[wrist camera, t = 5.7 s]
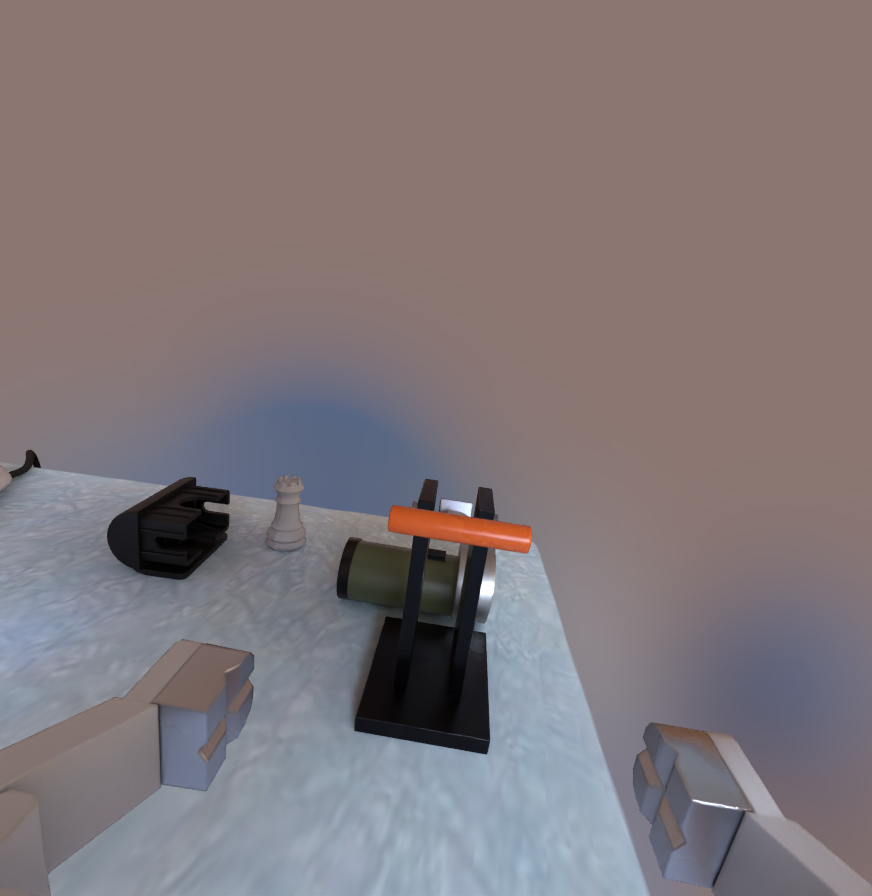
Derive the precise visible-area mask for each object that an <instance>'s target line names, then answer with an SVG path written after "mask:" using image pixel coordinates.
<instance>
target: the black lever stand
mask: <svg viewBox="0 0 872 896" xmlns="http://www.w3.org/2000/svg"><path fill="white" fill-rule="evenodd" d="M437 487H438V481H437V480H430V479H425V481H424V484H423V488H422V491H421V494H420V497H419V500H418V502H413V504H412V508H417V509H423V510H429V511H434V508H435V501H436V494H437ZM474 518H480V519H487V520H493V521H498V515H497V514H495V510H494V502H493V493H492V489H489V488H483V487H479V489H478V495H477V501H476V506H475V513H474ZM429 543H430V538H425V537H419V536H413V544H412V551H411V559H410V566H409V574H408V581H407V589H406V596H405V604H404V611H403V619H400V618H394V617H388V616H386V618H385V622H384V625H383V628H382V632H381V635H380V638H379V642H378V645H377V648H376V652H375V655H374V658H373V661H372V665H371V668H370V671H369V675H368V678H367V681H366V685H365V688H364V691H363V695H362V698H361V701H360V705H359V708H358V711H357V715H356V720H355V729H354V730H355V731H358V732H364V733H370V734H375V735H381V736H386V737H392V738H398V739H403V740H409V741H414V742H420V743H426V744H431V745H437V746H442V747H448V748H454V749H459V750H465V751H471V752H476V753H482V754H487V753H488V748H489V743H490V727H489V702H488V676H487V651H486V633H483V632H477V631H473V629H474V624H475V618H476V613H477V607H478V602H479V596H480V591H481V585H482V580H483V574H484V569H485V563H486V558H487V552H488V547H482V546H475V545H469V548H468V554H467V559H466V565H465V571H464V577H463V583H462V589H461V595H460V601H459V607H458V612H457V618H456V624H455V628H454V627H448V626H442V625H436V624H430V623H424V622H418V619H419V612H420V605H421V598H422V591H423V584H424V577H425V571H426V564H427V557H428V550H429Z"/></svg>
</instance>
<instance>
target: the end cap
mask: <svg viewBox="0 0 872 896" xmlns="http://www.w3.org/2000/svg"><path fill="white" fill-rule="evenodd" d="M205 502H213V503H220V504H227V505H228V504H229V503H230V493H229V490H223V489H216V488H208V487H201V486H196V478H195V477H188V478H183V479H180V480H178V481H177V482H175V483H173V484H172V485H170V486H168V487H166V488H164V489H163V490H161V491H159V492H157V493H156V494H154V495H152V496H151V497H149V498H147V499H145V500H144V501H142V502H140V503H138V504H137V505H135V506H133V507H131V508H130V509H128V510H126V511H124V512H123V513H121V514H119V515H118V516H116V517H115V518H114V519H113V520H112V522H111V523H110V525H109V528H108V531H107V540H108V544H109V547H110V549H111V551H112V553H113V554H114V556H115V557H116V558H117V559H118V560H119V561H120V562H122V563H123V564H125V565H126V566H128V567H130V568H133V569H134V570H135V571H137V572H139V573H142V574H144V575H150V576H157V577H164V578H171V579H185V578H187V577H188V576H189V575H190V574H191V573H192V572H194V571H195V570H196V569H197V568H198V567H199V566H200V565H201V564H202V563H203V562H204V561H205V560H206V559H207V558H208V557H209V556H210V555H211V554H212V553H213V552H214V551H215V550H216V549H217V548H218V547H220V546H221V545H222V544H223V543H224V542H225V541H226V540H227V533H224V532H225V531H226V530H227V529H228V527H229V514H227V513H220V512H213V511H208V510H206V509H205V507H204V503H205Z"/></svg>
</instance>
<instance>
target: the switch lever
mask: <svg viewBox="0 0 872 896" xmlns="http://www.w3.org/2000/svg"><path fill="white" fill-rule="evenodd" d="M472 506H473V504H472V503H468V502H462V501H455V500H449V499H442V498H441V500H440V506H439V512H436V511H429V510H423V509H417V508H410V507H404V506H397V505H393V506H392V508H391V511H390V516H389V521H388V531H389V532H394V533H400V534H406V535H413V536H419V537H425V538H431V539H438V540H444V541H450V542H456V543H463V544H469V545H475V546H482V547H488V548H494V549H500V550H507V551H513V552H519V553H525V554H526V553H528V552H529V549H530V546H531V539H532V530H531V527H530V526H524V525H519V524H512V523H506V522H499V521H493V520H487V519H480V518H474V517H471V513H472Z"/></svg>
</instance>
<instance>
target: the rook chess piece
mask: <svg viewBox="0 0 872 896" xmlns="http://www.w3.org/2000/svg"><path fill="white" fill-rule="evenodd" d="M274 489H275V490H276V491H277V493H278V496H277V497H276V499H275V501H276V502H277V509H276V514H275V518H274V521H273V522H272V523H271V526H270V527H269V528H268V531H267V536H268V537H267V538H266V543H267V544H268V545H269V546H270V548H272V549H274V550H276V551H281V552H289V551H294V550H297V549H299V548H300V547H301V546H302V545H303V544H304V543H305V542H306V538H305V535H306V530H305V528H304V527H303V526H302V522H301V520H300V514H299V502H300V501H301V498H300V497H299V494H300V492H301V491H302V490H303V489H304V486H303V485H302V483H301V478H299V477H298V478H297V480H296V476H294V475H292V479H288V475H284V476H283V479H282V477H278V480H277V483H276V484H275V485H274Z"/></svg>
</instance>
